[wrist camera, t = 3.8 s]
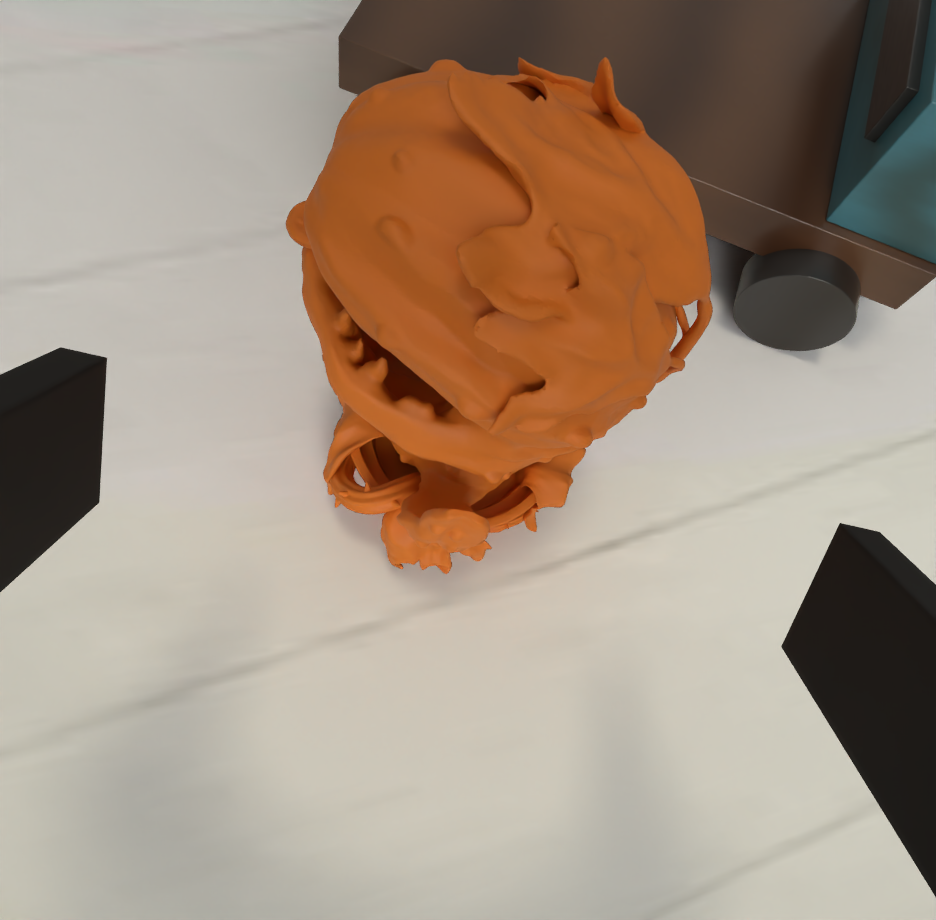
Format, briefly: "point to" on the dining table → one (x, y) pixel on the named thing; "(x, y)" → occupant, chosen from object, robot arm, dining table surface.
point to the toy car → (736, 125)
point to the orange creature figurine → (491, 294)
